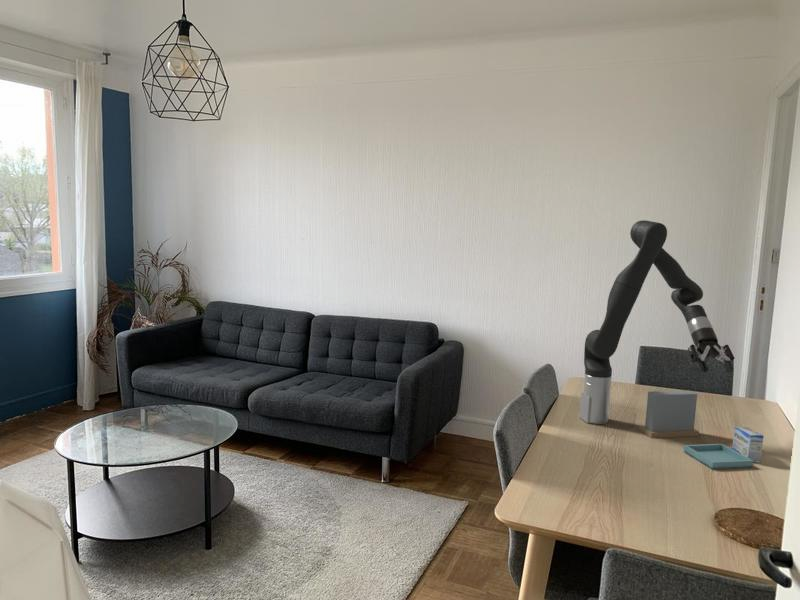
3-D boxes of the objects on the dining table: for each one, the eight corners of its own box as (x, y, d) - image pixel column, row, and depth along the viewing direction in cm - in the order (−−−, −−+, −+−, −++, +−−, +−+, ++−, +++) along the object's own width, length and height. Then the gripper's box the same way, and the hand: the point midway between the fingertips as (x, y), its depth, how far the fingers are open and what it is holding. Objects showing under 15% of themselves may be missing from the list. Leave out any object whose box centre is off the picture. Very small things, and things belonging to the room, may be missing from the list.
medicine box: (731, 452, 190) (734, 426, 189) (744, 452, 190) (747, 426, 189) (747, 462, 182) (750, 435, 181) (761, 462, 183) (764, 435, 181)
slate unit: (651, 437, 201) (654, 396, 199) (639, 430, 208) (643, 390, 206) (698, 435, 204) (702, 395, 202) (685, 428, 211) (689, 389, 209)
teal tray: (712, 469, 176) (712, 462, 175) (683, 451, 189) (683, 445, 189) (752, 467, 178) (753, 460, 178) (721, 450, 191) (721, 443, 191)
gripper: (687, 326, 206) (703, 366, 197) (726, 326, 208) (744, 366, 198) (678, 337, 212) (693, 377, 203) (715, 338, 214) (732, 377, 204)
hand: (718, 372), depth 200 cm, fingers open, 8 cm apart
